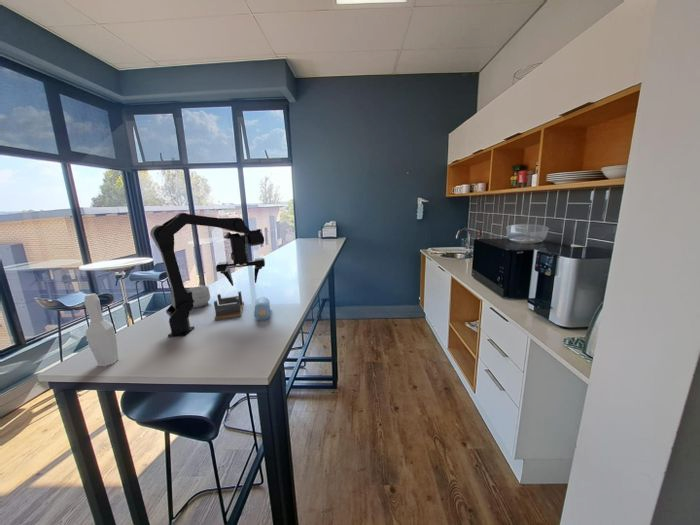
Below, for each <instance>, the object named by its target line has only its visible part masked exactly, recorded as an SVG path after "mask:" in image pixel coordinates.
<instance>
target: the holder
mask: <svg viewBox="0 0 700 525" xmlns="http://www.w3.org/2000/svg"><path fill="white" fill-rule="evenodd" d="M237 294H238V295H232V296H228V297H227V296H226V297H221V293H218V294H217V300H214V301H213V305H214V306H213V307H214V311H215V316H214V321H220V320H221V321H222V320H228V319H234V318H240V317H242V313H243V310H244V309H243V308H244V305H245V302H244V301H243V296H242V291H241V290H239V291H238V293H237Z"/></svg>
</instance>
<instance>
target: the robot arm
mask: <svg viewBox="0 0 700 525" xmlns="http://www.w3.org/2000/svg"><path fill="white" fill-rule="evenodd" d="M186 225H195V226H202V227H211V228H218V229H222V230H225V231H229V232H226V235H224V237H223V239H226V240H229V242H230V248H231V249H230V250H231V252H230V259H231V260H232V261H233V262H231V263H229V261H221V262H218V263H217V264H216V265H215V270H216V273H218V272H219V273H220V274H223V275H224V276H225V278H226V279H227V281H228V282H229V283H230V285H231V286H232V287H234V280H233V275H232V274H231V269H233V268H241V267H242V268H243V267H251V266H254V284H257V280H258V273H259V271H260V270H262V268H264V267H266V266H265V265H266V260H265V258H264V257H258V258H254V260H251V261H250V258H249V254H248V252H247V246H248V247H255V246H260V245H264V243H265V236H264V234H263V233H262V231H261V229H260V228H257V229H256V228H255V229H252V230H251V229H249V228H248V226H246V224H245V221H244V220H243V219H242V217H241V218H240V217H215V216H205V215H197V214H189V213H187V212H179V213H177V214H175V216H174V217H172V218H171V219H168V220H167V221H165V222H164V223H163V224H159V225H158V224H157V225H155V226H153V227H152V228H151V229H150V232H149V233H150V236H151V238H152V241H153V242H154V245H155V246H156V248H157V249H158V251H159V253H160V255H161V259H162V263H163V266H164V269H165V272H166V276H167V279H168V282H169V286H170V300H171V301H170V305H169V306H168V308H167V309H166V310H165V313H166V314H167V315H168V317H169V320H168V322H169V327H170V333H169V334H167V337H181V336H186V335H188V334H189V333H190V332H191V331H192V330H194V329H195V326H191V324H190V319H189V316H190V312H191V310H192V309H193V302H195V301H194V300H193V297H192V292H191V291H190V290H188V289H189V288H185V285H184V281H183V278H182V275H181V270H180V267H179V264H178V261H177V258H176V252H175V234H176V233H178V232H180V230H181V229H182V228H184V227H185V226H186ZM231 232H233V233H231ZM234 232H235V233H234Z"/></svg>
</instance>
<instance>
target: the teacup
mask: <svg viewBox="0 0 700 525" xmlns="http://www.w3.org/2000/svg"><path fill="white" fill-rule="evenodd" d="M209 287H210V286H208V285H202V284H201V285H199V286H195V287H191V288H187V289H188V290H190V291H191V292H192V297H193V300H194V301H195V302H193V308H195V309H196V308H200V307H203V306H206V305H207V304H208V303H209V302H210V300H211V294H210V289H209ZM193 308H192V309H193Z"/></svg>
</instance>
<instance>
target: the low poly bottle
mask: <svg viewBox="0 0 700 525" xmlns="http://www.w3.org/2000/svg"><path fill="white" fill-rule="evenodd" d="M83 304H84V307H85V309H86V312H87V314H88V317H89V320H90V323H89V325H88V327H87V329H86V331H85V335H86V336H85V337H86V340H87V342H88V346H89V348H90V351H91V352H92V354H93V357H94V358H95V361H96V363H97V365H98V367H99V366H103V367H108V366H111V365H114V364H115V363H117V362H118V361H119V353H118V344H117V335H116V332H115V329H114V328H115V327H114V325H113V322H112V323H111V322H110V321H108V320H106V319H105V318H104V316H103V313H102V309H101V308H102V307H101V301H100V298H99V296H98V295H97V294H96V293H95V292H94V293H88V294H85V295H84V302H83ZM117 360H118V361H117ZM116 361H117V362H116ZM113 363H114V364H113ZM110 364H111V365H110ZM107 365H108V366H107Z"/></svg>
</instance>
